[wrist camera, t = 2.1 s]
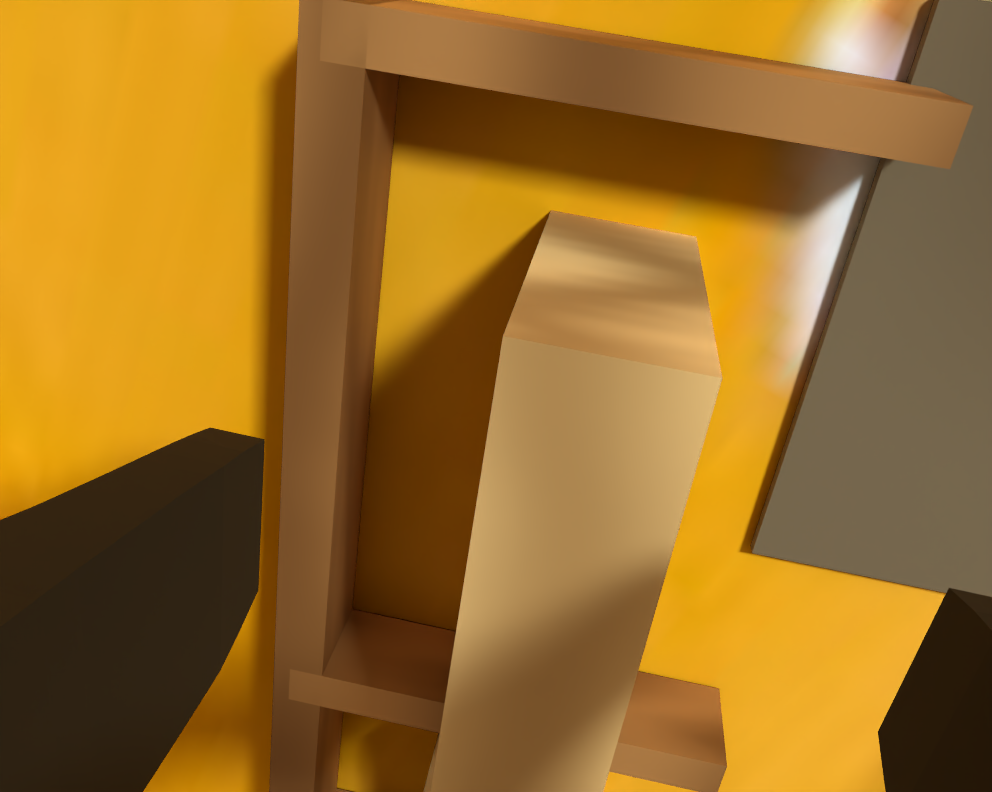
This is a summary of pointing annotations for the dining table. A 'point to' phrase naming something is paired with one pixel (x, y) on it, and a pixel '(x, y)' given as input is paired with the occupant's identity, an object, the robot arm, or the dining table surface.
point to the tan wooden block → (577, 504)
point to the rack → (354, 316)
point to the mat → (905, 362)
